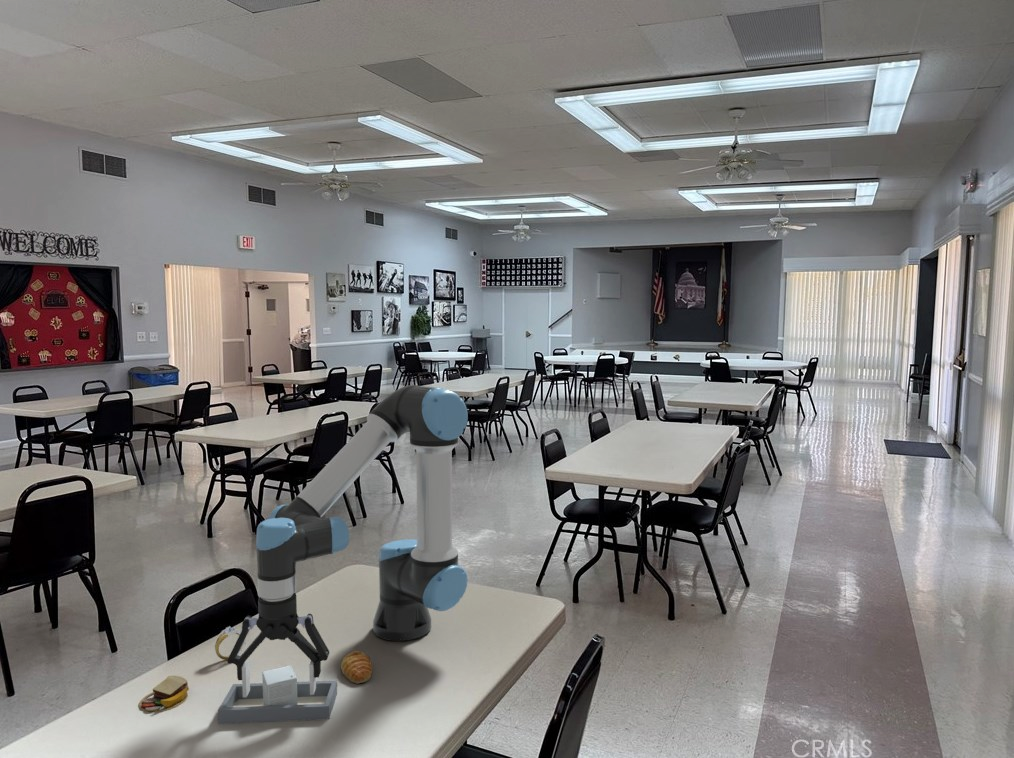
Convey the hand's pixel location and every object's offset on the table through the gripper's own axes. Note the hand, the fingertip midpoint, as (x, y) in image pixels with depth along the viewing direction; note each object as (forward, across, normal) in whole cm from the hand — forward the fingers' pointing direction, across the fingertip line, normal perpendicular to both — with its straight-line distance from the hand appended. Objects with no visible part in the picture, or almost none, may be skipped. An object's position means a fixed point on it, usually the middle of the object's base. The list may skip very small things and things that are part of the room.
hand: (279, 692), depth 146 cm
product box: (+4, 0, 0) cm, 4 cm away
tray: (+4, 0, 0) cm, 4 cm away
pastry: (+5, -13, -10) cm, 17 cm away
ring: (+4, +17, -23) cm, 29 cm away
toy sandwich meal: (+4, +25, -5) cm, 26 cm away
